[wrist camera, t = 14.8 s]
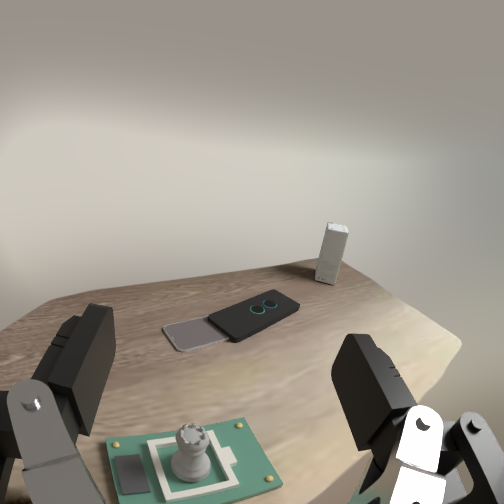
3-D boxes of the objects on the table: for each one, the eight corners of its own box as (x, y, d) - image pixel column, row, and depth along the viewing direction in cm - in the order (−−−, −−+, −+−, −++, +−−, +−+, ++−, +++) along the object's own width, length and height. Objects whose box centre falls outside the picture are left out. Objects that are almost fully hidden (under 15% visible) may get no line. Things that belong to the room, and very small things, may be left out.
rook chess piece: (218, 475, 27) (226, 442, 24) (182, 489, 24) (182, 459, 21) (198, 447, 30) (202, 409, 27) (163, 458, 28) (161, 422, 25)
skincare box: (334, 286, 80) (350, 234, 75) (313, 280, 81) (327, 228, 76) (334, 273, 88) (348, 225, 82) (314, 268, 89) (327, 220, 83)
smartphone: (252, 330, 56) (180, 351, 47) (252, 334, 56) (179, 356, 47) (230, 310, 61) (161, 325, 52) (229, 313, 61) (161, 329, 52)
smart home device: (302, 304, 66) (237, 338, 51) (300, 311, 66) (235, 346, 52) (273, 287, 71) (205, 314, 56) (271, 294, 71) (204, 322, 57)
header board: (126, 522, 19) (122, 517, 19) (106, 442, 28) (103, 434, 27) (280, 487, 28) (285, 480, 27) (242, 422, 36) (245, 413, 36)
